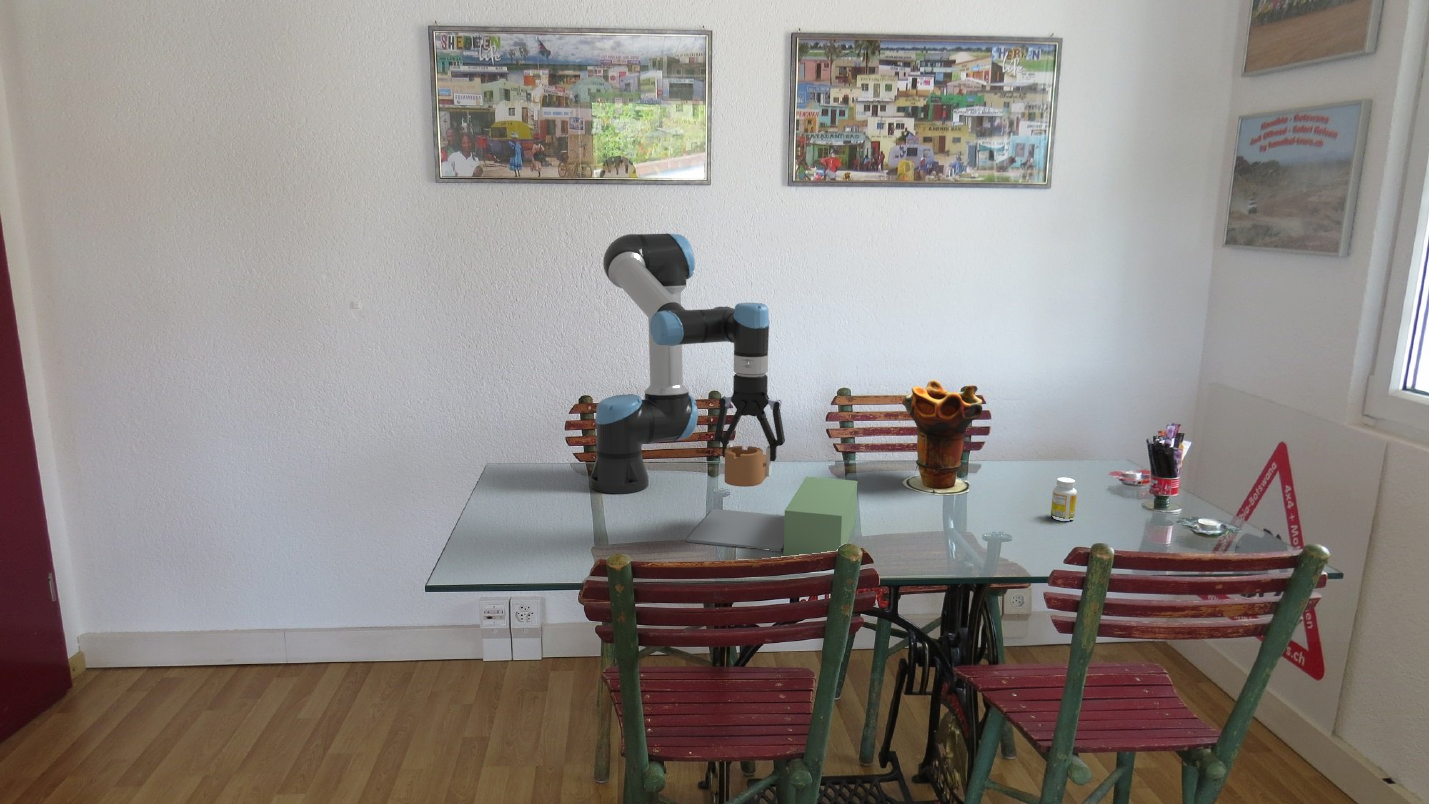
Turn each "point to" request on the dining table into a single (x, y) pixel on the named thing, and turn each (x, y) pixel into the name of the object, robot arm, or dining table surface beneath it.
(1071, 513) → the supplement bottle
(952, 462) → the decorative vase
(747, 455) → the bracket
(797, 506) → the green cube on tray
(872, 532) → the dining table surface
